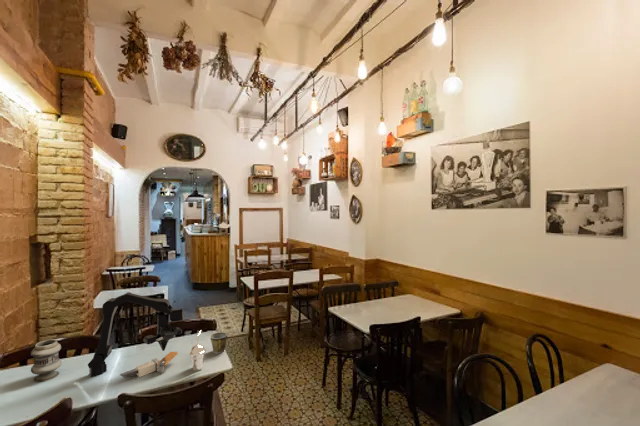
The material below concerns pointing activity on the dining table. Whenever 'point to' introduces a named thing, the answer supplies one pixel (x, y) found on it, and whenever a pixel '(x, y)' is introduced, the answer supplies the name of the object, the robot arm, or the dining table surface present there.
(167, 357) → the copper metal plate
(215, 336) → the ceramic cup
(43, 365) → the apothecary jar
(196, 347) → the cup with straw
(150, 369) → the plug
